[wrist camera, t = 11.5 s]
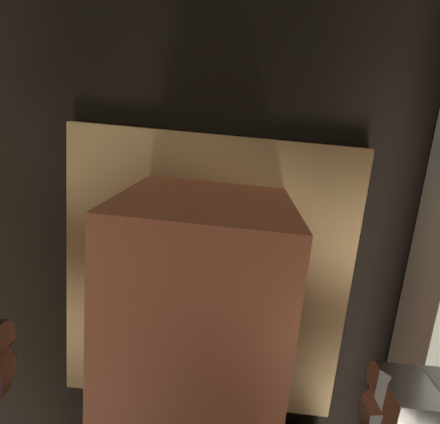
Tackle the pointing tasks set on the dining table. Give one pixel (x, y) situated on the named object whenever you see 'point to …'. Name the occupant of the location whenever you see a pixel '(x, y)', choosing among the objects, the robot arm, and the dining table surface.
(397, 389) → the robot arm
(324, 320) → the cork pad
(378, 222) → the dining table surface
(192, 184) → the part
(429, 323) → the pocket board
